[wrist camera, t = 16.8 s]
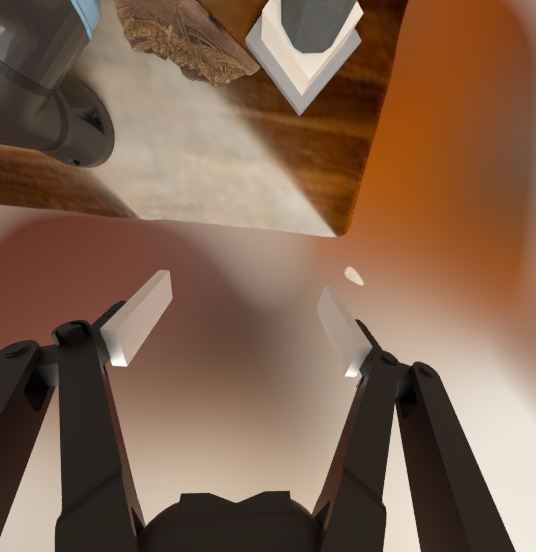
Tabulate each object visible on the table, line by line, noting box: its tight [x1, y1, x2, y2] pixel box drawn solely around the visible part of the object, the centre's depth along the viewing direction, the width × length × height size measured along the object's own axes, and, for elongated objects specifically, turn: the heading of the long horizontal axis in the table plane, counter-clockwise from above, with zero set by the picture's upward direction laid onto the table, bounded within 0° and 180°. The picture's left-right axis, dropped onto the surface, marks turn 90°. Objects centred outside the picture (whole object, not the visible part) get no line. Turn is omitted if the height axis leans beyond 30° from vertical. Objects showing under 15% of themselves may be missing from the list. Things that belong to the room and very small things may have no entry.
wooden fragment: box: [115, 0, 260, 87], centre depth 34 cm, size 26×11×1 cm, turn 68°
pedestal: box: [245, 0, 363, 116], centre depth 32 cm, size 15×15×8 cm
